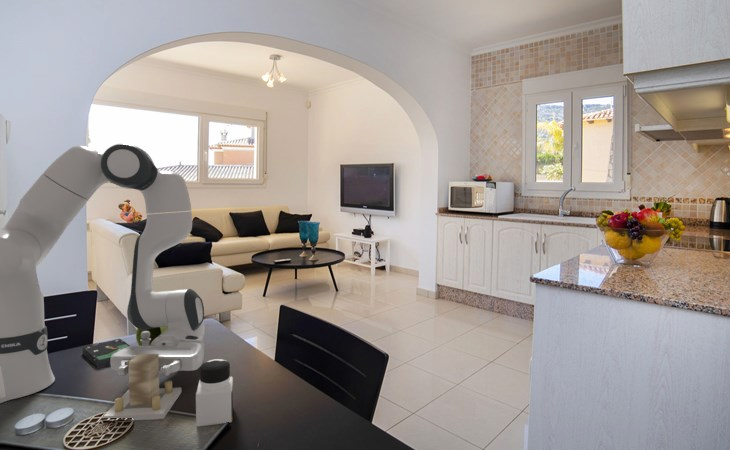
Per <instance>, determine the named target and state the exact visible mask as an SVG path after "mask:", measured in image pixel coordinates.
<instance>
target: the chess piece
mask: <svg viewBox="0 0 730 450" xmlns="http://www.w3.org/2000/svg"><path fill="white" fill-rule="evenodd" d="M149 337H150V332H149V331H143V332H142V333H141V338H142V339H141V340H140V341H141V342H142V346H149V341H150V340H151V338H149Z"/></svg>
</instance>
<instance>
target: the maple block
mask: <svg viewBox="0 0 730 450" xmlns="http://www.w3.org/2000/svg"><path fill="white" fill-rule="evenodd" d="M128 382H129V383H128V390H129V395H130V406H150V405H151V404H152V398H153V397H154V396H159V388H160V372H159V355H158V354H138V355H137V356H135V357H134V358H133V359H131V360H130V361H129V371H128Z"/></svg>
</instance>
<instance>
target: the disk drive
mask: <svg viewBox="0 0 730 450" xmlns="http://www.w3.org/2000/svg"><path fill="white" fill-rule="evenodd" d="M129 346H131V345H130V344H128V343H127V342H126V341H124V340H123V339H121V338H116V339H112V340H107V341H102V342H99V343H97V344H95V345H92V344H90V345H84V346H82V355H83V356H85V358H87V359H88V360H89V361H90V362H91V363H92V364H94V366H95V367H96V368H98V369H99V368H103V367H107V366H111V363H110V362H111V356H112V355H113V354H114V353H116V352H118V351H120V350H122V349H124V348H126V347H129Z"/></svg>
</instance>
